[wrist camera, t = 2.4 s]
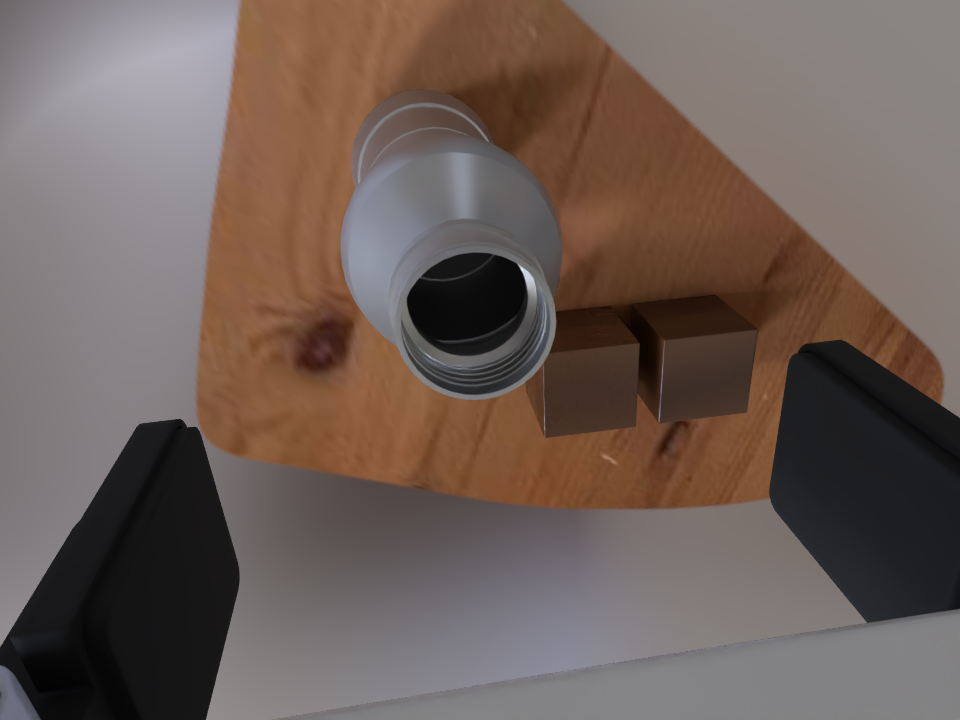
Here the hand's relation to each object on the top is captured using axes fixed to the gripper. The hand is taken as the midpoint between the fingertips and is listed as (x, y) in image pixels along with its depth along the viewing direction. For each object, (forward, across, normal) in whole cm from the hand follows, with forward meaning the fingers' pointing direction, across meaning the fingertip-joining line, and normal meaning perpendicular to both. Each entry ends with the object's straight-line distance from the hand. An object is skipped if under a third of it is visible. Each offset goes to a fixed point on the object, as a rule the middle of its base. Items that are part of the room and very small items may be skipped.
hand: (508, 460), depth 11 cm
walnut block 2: (+25, -13, +10) cm, 30 cm away
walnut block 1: (+25, -7, +10) cm, 28 cm away
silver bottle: (+25, 0, 0) cm, 25 cm away
